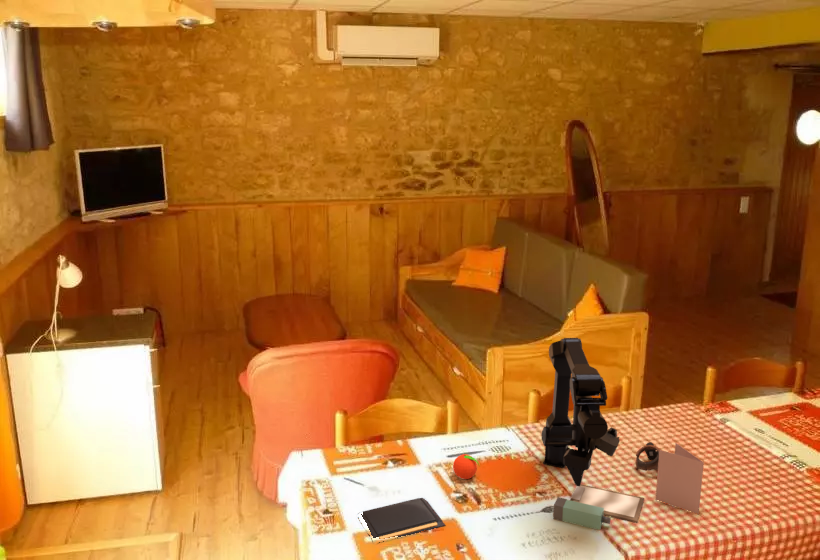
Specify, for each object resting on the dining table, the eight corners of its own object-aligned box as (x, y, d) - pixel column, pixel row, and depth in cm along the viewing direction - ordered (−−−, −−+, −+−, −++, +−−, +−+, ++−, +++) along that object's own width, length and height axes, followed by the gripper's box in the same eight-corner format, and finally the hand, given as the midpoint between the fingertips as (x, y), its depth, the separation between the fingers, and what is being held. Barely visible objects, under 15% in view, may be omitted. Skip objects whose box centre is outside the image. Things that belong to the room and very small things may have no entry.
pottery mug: (677, 478, 205) (667, 459, 202) (645, 489, 208) (635, 470, 204) (666, 450, 216) (657, 431, 212) (636, 460, 218) (626, 441, 215)
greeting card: (701, 513, 187) (706, 461, 183) (677, 518, 185) (681, 466, 181) (674, 491, 197) (678, 442, 194) (650, 496, 195) (654, 446, 192)
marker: (553, 518, 185) (553, 504, 184) (557, 511, 189) (557, 497, 188) (608, 532, 180) (608, 517, 179) (611, 523, 183) (611, 509, 182)
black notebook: (424, 493, 196) (447, 522, 182) (424, 499, 196) (447, 529, 183) (354, 508, 189) (372, 540, 175) (354, 515, 190) (372, 547, 176)
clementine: (483, 475, 207) (484, 452, 206) (475, 486, 201) (475, 463, 200) (458, 469, 211) (458, 447, 209) (449, 480, 205) (449, 458, 203)
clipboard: (567, 506, 191) (567, 502, 190) (577, 485, 201) (577, 481, 201) (637, 522, 183) (637, 518, 183) (644, 499, 194) (644, 495, 193)
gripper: (611, 442, 167) (607, 502, 170) (624, 411, 183) (620, 467, 187) (563, 433, 171) (561, 492, 175) (580, 404, 188) (577, 458, 191)
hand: (582, 477), depth 182 cm, fingers open, 9 cm apart
